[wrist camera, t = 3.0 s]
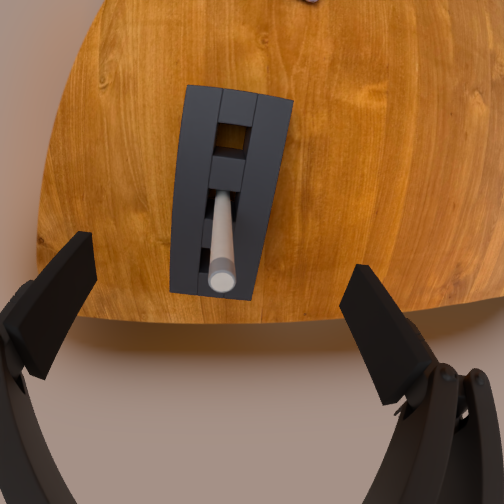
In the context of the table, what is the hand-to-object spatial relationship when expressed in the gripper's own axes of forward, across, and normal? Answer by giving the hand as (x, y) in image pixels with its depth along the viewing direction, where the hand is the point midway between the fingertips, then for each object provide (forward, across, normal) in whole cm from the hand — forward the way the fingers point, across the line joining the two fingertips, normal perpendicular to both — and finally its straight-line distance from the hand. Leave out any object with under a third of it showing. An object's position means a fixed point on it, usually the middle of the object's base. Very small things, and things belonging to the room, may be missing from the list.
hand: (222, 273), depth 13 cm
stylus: (+14, 0, 0) cm, 14 cm away
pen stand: (+14, 0, 0) cm, 14 cm away
